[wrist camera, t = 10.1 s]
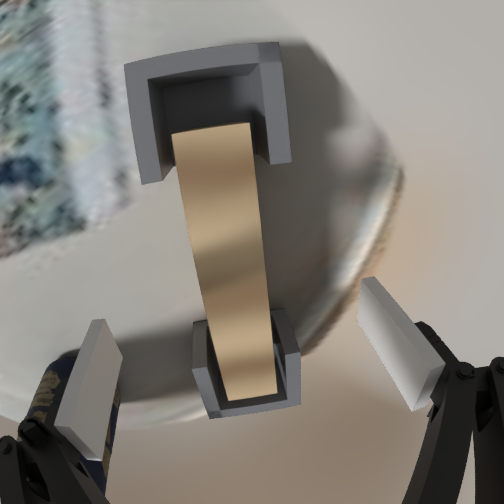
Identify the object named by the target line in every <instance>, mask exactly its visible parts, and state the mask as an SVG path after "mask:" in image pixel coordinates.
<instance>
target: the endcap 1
mask: <svg viewBox="0 0 504 504" xmlns="http://www.w3.org/2000/svg"><path fill="white" fill-rule="evenodd" d="M124 71H125V80H126V88H127V97H128V104H129V112H130V119H131V125H132V132H133V138H134V144H135V150H136V156H137V162H138V167H139V172H140V178H141V183H142V185H143V184H148V183H154V182H159V181H163V179H164V178H165V177H166V175H167V174H168V173H169V172H170V170H171V169H172V168H173V166H176V161H175V155H174V148H173V142H172V135H171V134H174V133H176V132H179V131H181V130H186V129H192V128H198V127H204V126H211V125H218V124H225V123H233V122H247V123H250V132H251V141H252V149H253V154H258V155H259V156H260V157H262V158H263V159H264V160H265V161H266V162H268V163H269V164H270V165H273V164H282V163H292V161H291V149H290V138H289V127H288V116H287V106H286V97H285V87H284V78H283V70H282V61H281V53H280V45H279V42H267V43H250V44H237V45H227V46H218V47H210V48H202V49H195V50H189V51H183V52H177V53H172V54H167V55H162V56H157V57H152V58H148V59H143V60H139V61H135V62H131V63H127V64H124Z"/></svg>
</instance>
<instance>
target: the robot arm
mask: <svg viewBox="0 0 504 504" xmlns="http://www.w3.org/2000/svg"><path fill="white" fill-rule="evenodd" d="M357 322H358V323H359V325H360V327H361V328H362V330H363V331H364V333H365V334H366V336H367V338H368V339H369V341H370V342H371V344H372V346H373V347H374V348H375V351H376V352H377V354H378V355H379V357H380V359H381V360H382V362H383V363H384V365H385V367H386V369H387V370H388V372H389V374H390V375H391V377H392V379H393V380H394V382H395V384H396V385H397V387H398V389H399V390H400V392H401V394H402V395H403V397H404V399H405V401H406V402H407V404H408V406H409V408H410V409H411V411H414V410H417V409H419V408H422V407H424V406H426V405H427V403H428V400H429V398H431V399H432V401H433V403H434V404H433V406H432V408H431V409H430V411H429V413H428V415H427V417H429V416H430V417H429V421H428V425H427V430H426V433H425V437H424V441H423V444H422V448H421V451H420V454H419V457H418V460H417V463H416V466H415V469H414V473H413V475H412V478H411V481H410V484H409V486H408V489H407V492H406V494H405V497H404V499H403V502H402V504H456V503H457V499H458V495H459V492H460V488H461V484H462V480H463V476H464V472H465V467H466V463H467V458H468V453H469V447H470V441H471V435H472V431H473V442H474V457H475V504H504V357H496V358H494V359H493V360H492V362H491V364H490V365H489V366H486V367H479V368H474V366H472V365H471V364H469V363H466V362H459V361H458V359H457V358H456V357H455V356H454V354H452V352H451V351H450V349H449V348H448V347H447V346H446V345H445V343H444V342H443V341H441V338H440V337H439V336H438V335H437V334H436V333H435V331H434V330H433V329H432V328H431V327H430V326H429V325H427V324H425V323H424V322H422V321H420V322H417V323H413V322H412V320H411V319H410V318H409V317H408V315H407V314H406V313H405V312H404V311H403V310H402V308H401V307H400V306H399V305H398V303H397V302H396V301H395V300H394V299H393V298H392V297H391V295H390V294H389V293H388V292H387V291H386V289H385V288H384V287H383V286H382V285H381V284H380V283H379V282H378V280H377V279H376V278H375V277H374V276H373V277H369V278H364V279H361V286H360V297H359V306H358V315H357ZM122 359H123V356H122V354H121V352H120V350H119V348H118V346H117V344H116V342H115V340H114V338H113V335H112V333H111V331H110V329H109V327H108V324H107V322H106V320H105V319H98V320H92V322H91V324H90V327H89V329H88V332H87V334H86V336H85V339H84V341H83V344H82V346H81V349H80V351H79V354H78V356H77V359H76V362H75V364H74V367H73V370H72V372H71V375H70V378H63V379H62V380H61V381H60V382H59V384H58V385H57V386H56V389H55V392H54V396H53V397H52V400H51V403H50V406H49V409H48V412H47V415H46V418H45V421H44V424H43V422H42V421H41V420H40V419H39V418H37V417H35V416H30V417H27V418H25V419H24V420H23V421H22V422H21V423H20V425H19V427H18V436H19V437H20V438H21V439H22V440H23V441H18V442H17V441H16V440H15V439H14V438H13V437H11V436H9V435H8V436H3V437H2V438H0V498H1V504H110V503H109V501H108V500H107V499H106V497H105V496H104V495H103V493H102V492H101V490H100V489H99V487H98V486H97V484H96V483H95V482H94V480H93V479H92V477H91V475H90V474H89V472H88V471H87V469H86V468H85V466H84V464H83V463H82V462H81V461H80V455H81V454H82V455H83V456H84V457H85V458H86V459H87V460H96V461H102V459H103V452H104V446H105V440H106V435H107V429H108V424H109V418H110V413H111V408H112V403H113V399H114V394H115V389H116V385H117V380H118V376H119V372H120V368H121V363H122Z"/></svg>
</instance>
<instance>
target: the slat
mask: <svg viewBox="0 0 504 504" xmlns="http://www.w3.org/2000/svg"><path fill="white" fill-rule="evenodd" d="M171 135H172V142H173V148H174V155H175V161H176V167H177V173H178V179H179V184H180V190H181V196H182V201H183V207H184V212H185V217H186V222H187V228H188V233H189V238H190V243H191V248H192V252H193V257H194V262H195V267H196V271H197V276H198V281H199V285H200V290H201V294H202V298H203V303H204V307H205V311H206V316H207V320H208V324H209V328H210V332H211V336H212V340H213V344H214V348H215V352H216V356H217V360H218V364H219V368H220V371H221V375H222V379H223V383H224V386H225V390H226V393H227V397H228V401H231V400H238V399H245V398H251V397H257V396H263V395H269V394H275V393H277V384H276V373H275V362H274V352H273V341H272V331H271V321H270V310H269V300H268V290H267V280H266V270H265V261H264V251H263V241H262V232H261V222H260V213H259V204H258V194H257V185H256V176H255V167H254V158H253V149H252V141H251V132H250V123H247V122H233V123H225V124H218V125H211V126H204V127H198V128H192V129H186V130H181V131H179V132H176V133H174V134H171Z"/></svg>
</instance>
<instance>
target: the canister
mask: <svg viewBox="0 0 504 504" xmlns="http://www.w3.org/2000/svg"><path fill="white" fill-rule="evenodd" d="M75 362H76V359H73V358H63V359H59V360H56V361H54V362H52V363H51V364H50V365H49V366H48V367H47V369H46V371H45V373H44V375H43V377H42V379H41V382H40V384H39V386H38V389H37V391H36V393H35V396H34V398H33V401H32V403H31V406H30V408H29V411H28V413H27V416H26V417H25V418H27V417H30V416H35V417H37V418H39V419H40V420H41V421H42V422H43V424H44V421H45V418H46V415H47V412H48V409H49V406H50V403H51V400H52V397H53V396H54V392H55V389H56V386H57V385H58V384H59V382H60V381H61V380H62V379H63V378H70V375H71V372H72V370H73V367H74V364H75ZM119 406H120V393H119V390H118V388H117V386H116V389H115V394H114V399H113V403H112V408H111V413H110V418H109V424H108V429H107V435H106V440H105V446H104V452H103V459H102V461H96V460H87V459H86V458H85V457H84V456H83V455H82V454H81V455H80V461H81V462H82V463H83V464H84V466H85V468H86V469H87V471H88V472H89V474H90V475H91V477H92V479H93V480H94V482H95V483H96V484H97V486H98V487H99V489H100V490H101V492H102V493H103V495H104V496H105V491H106V483H107V476H108V468H109V462H110V457H111V454H112V447H113V442H114V435H115V430H116V423H117V416H118V410H119ZM25 418H24V419H25ZM18 441H23V440H22V439H21V438H20V437H19V436H18V438H17V442H18Z"/></svg>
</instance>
